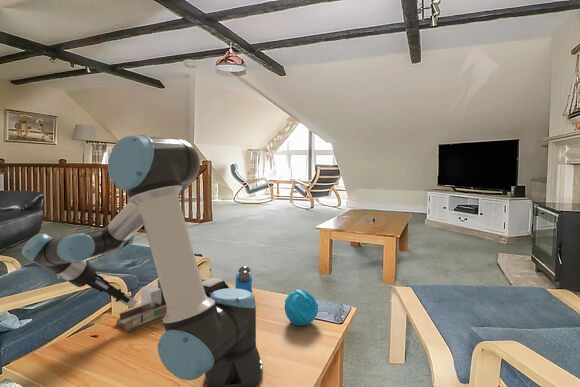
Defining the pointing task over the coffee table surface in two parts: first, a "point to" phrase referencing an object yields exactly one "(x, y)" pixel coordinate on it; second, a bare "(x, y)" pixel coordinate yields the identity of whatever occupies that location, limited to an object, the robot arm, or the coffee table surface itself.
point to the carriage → (150, 298)
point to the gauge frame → (142, 316)
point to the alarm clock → (244, 279)
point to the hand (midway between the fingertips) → (133, 304)
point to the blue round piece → (301, 307)
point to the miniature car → (213, 285)
